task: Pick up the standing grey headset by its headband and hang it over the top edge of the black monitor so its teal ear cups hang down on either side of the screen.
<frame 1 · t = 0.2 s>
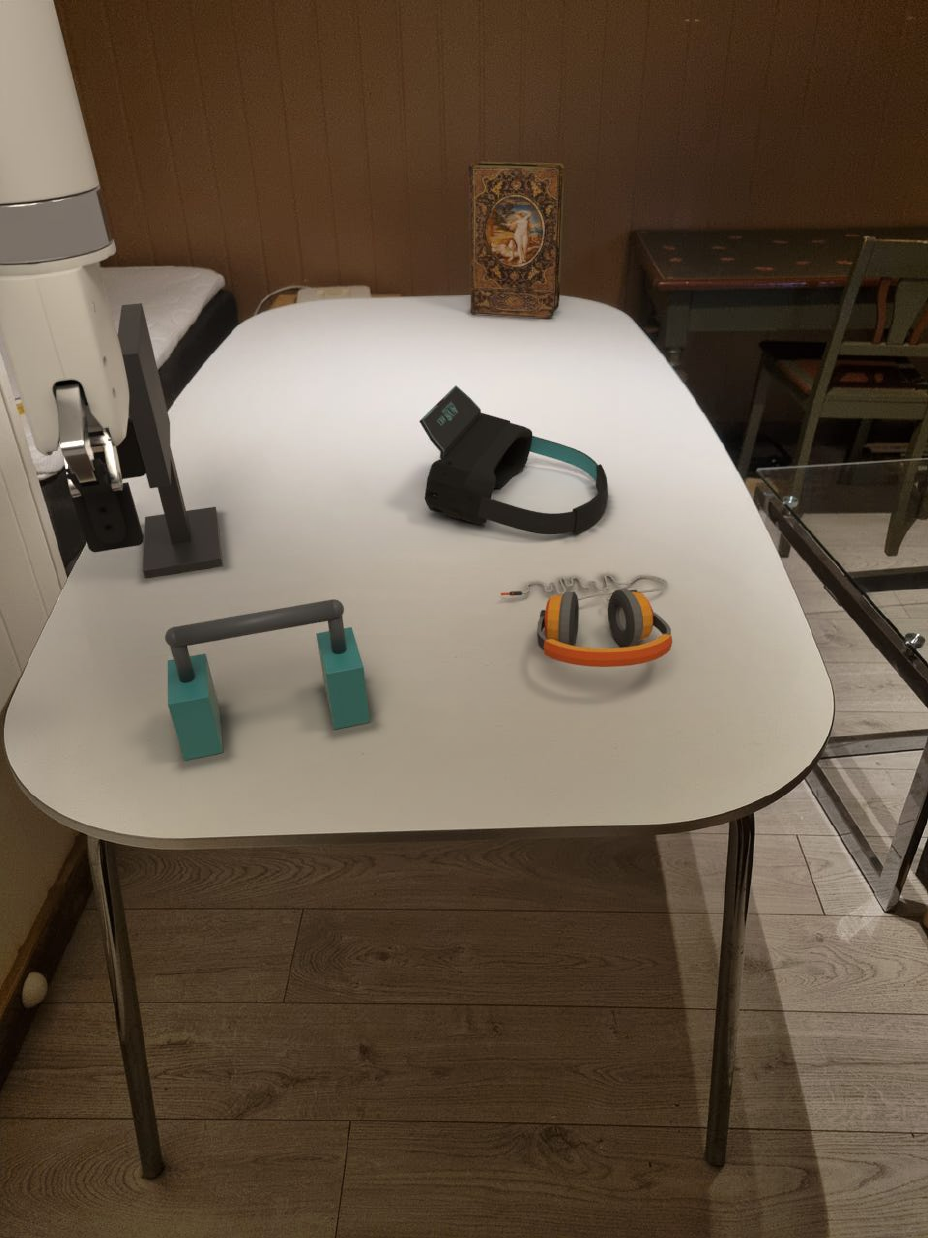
hand: (120, 509, 56), 22 cm above the table, tool pointing down, fingers open, 9 cm apart
virtual reality headset: (520, 501, 102), on the table
monitor: (183, 544, 95), on the table
headphones: (593, 635, 81), on the table
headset: (276, 718, 72), on the table
book: (513, 313, 162), on the table
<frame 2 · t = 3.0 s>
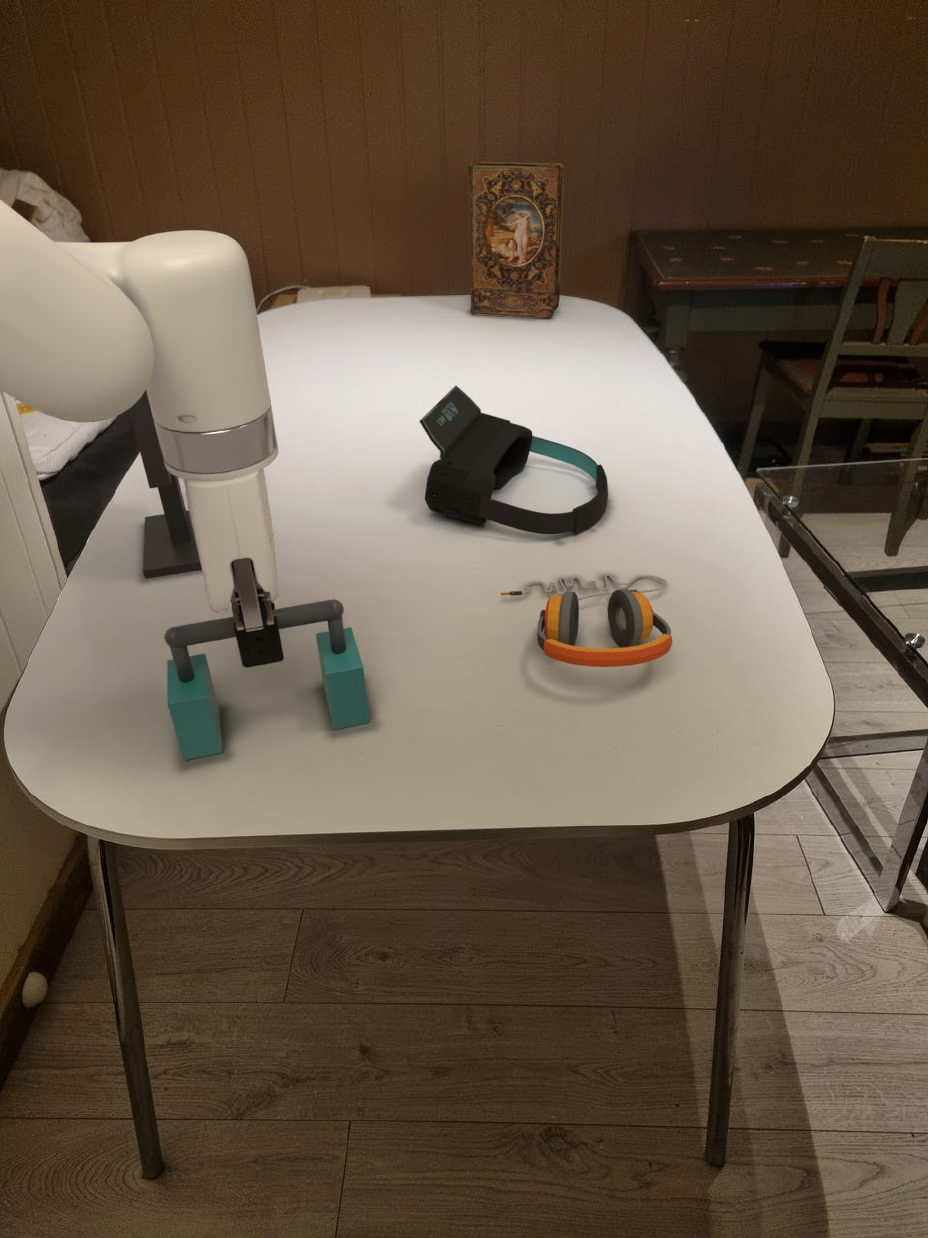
hand: (262, 652, 68), 7 cm above the table, tool pointing down, fingers closed on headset
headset: (275, 719, 72), on the table, touching gripper
everything else where it was.
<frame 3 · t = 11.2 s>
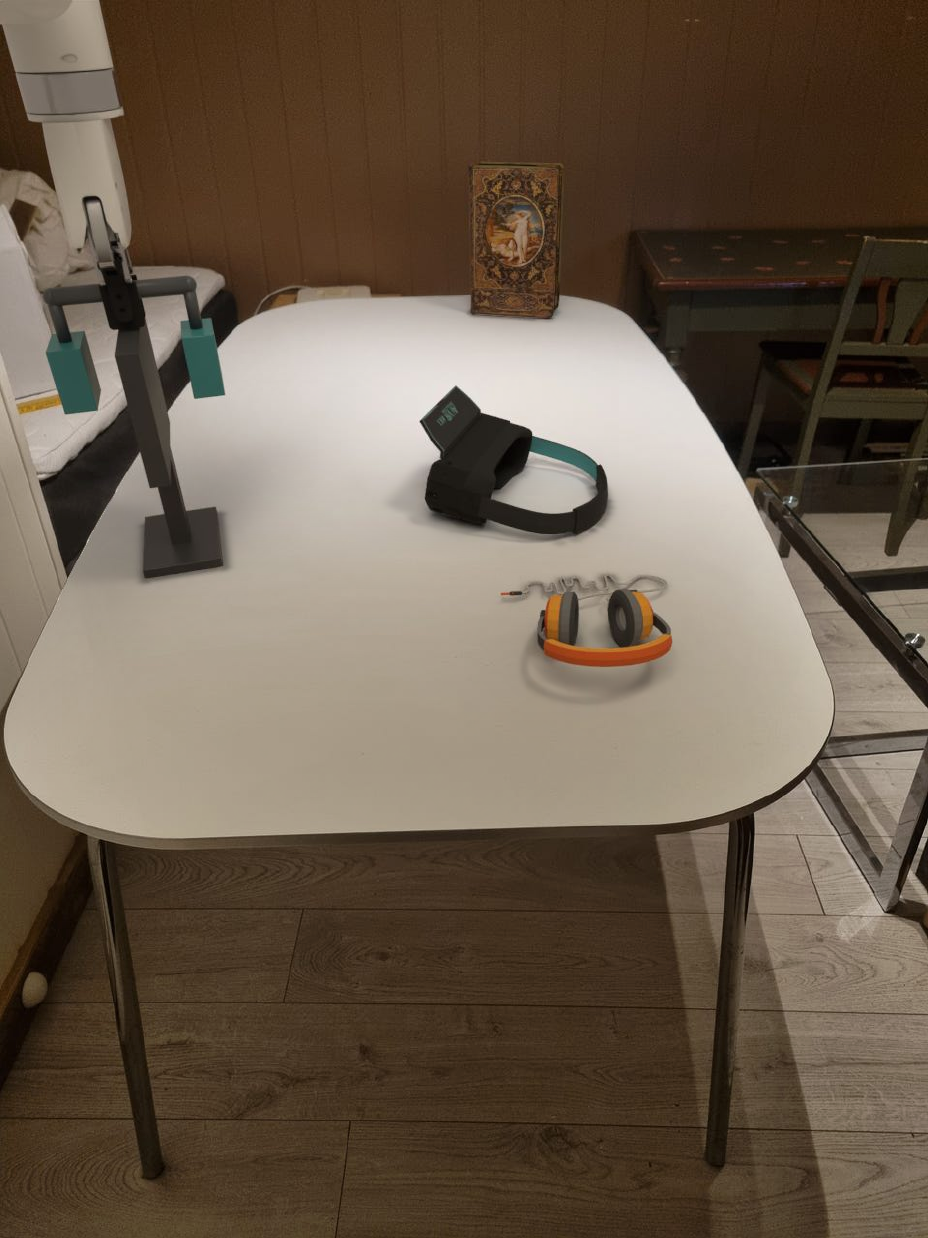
hand: (128, 322, 81), 24 cm above the table, tool pointing down, fingers closed on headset
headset: (147, 394, 85), point 17 cm above the table, touching gripper
everything else where it was.
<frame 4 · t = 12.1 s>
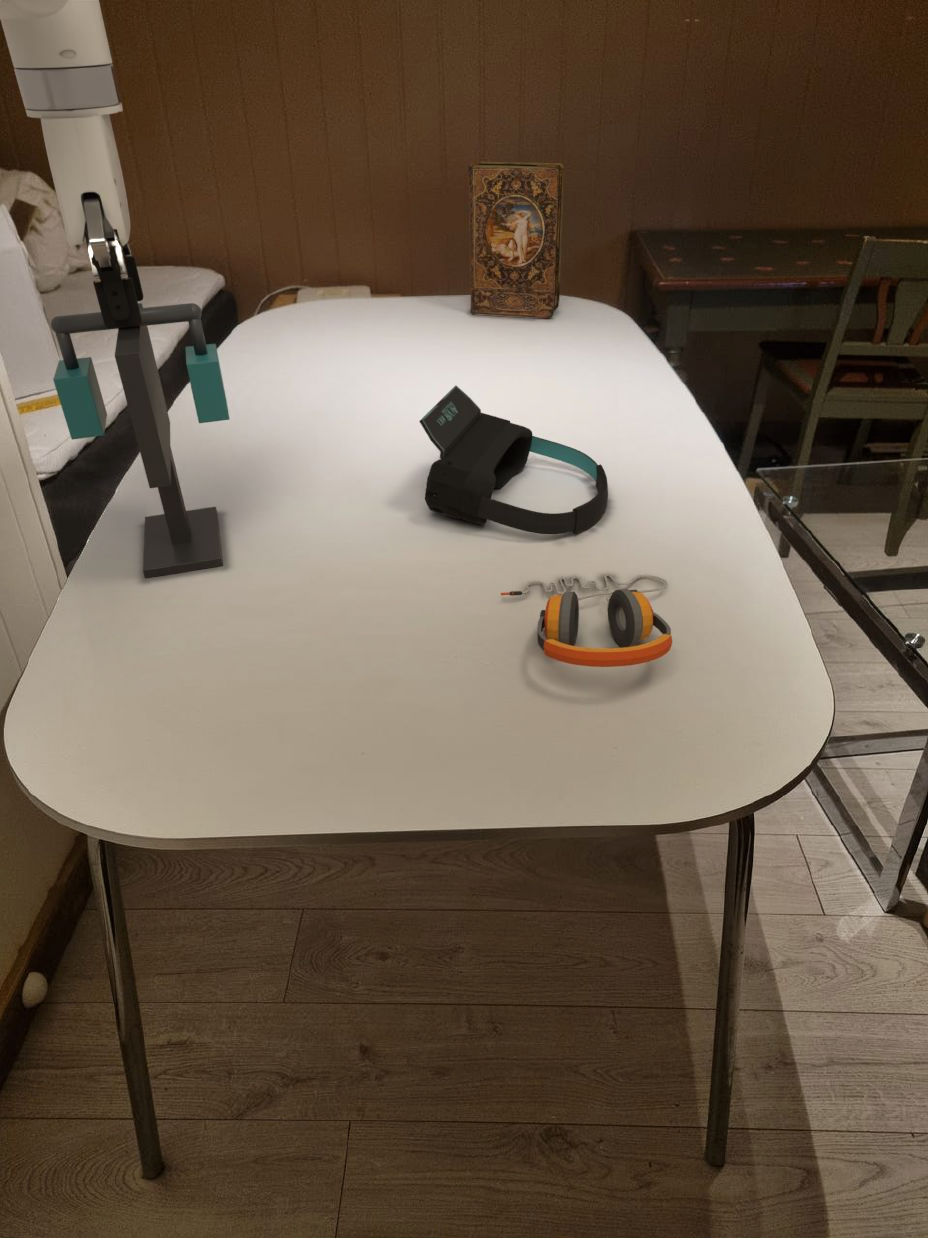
hand: (125, 311, 80), 25 cm above the table, tool pointing down, fingers open, 7 cm apart
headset: (152, 419, 86), point 15 cm above the table, touching monitor
everything else where it was.
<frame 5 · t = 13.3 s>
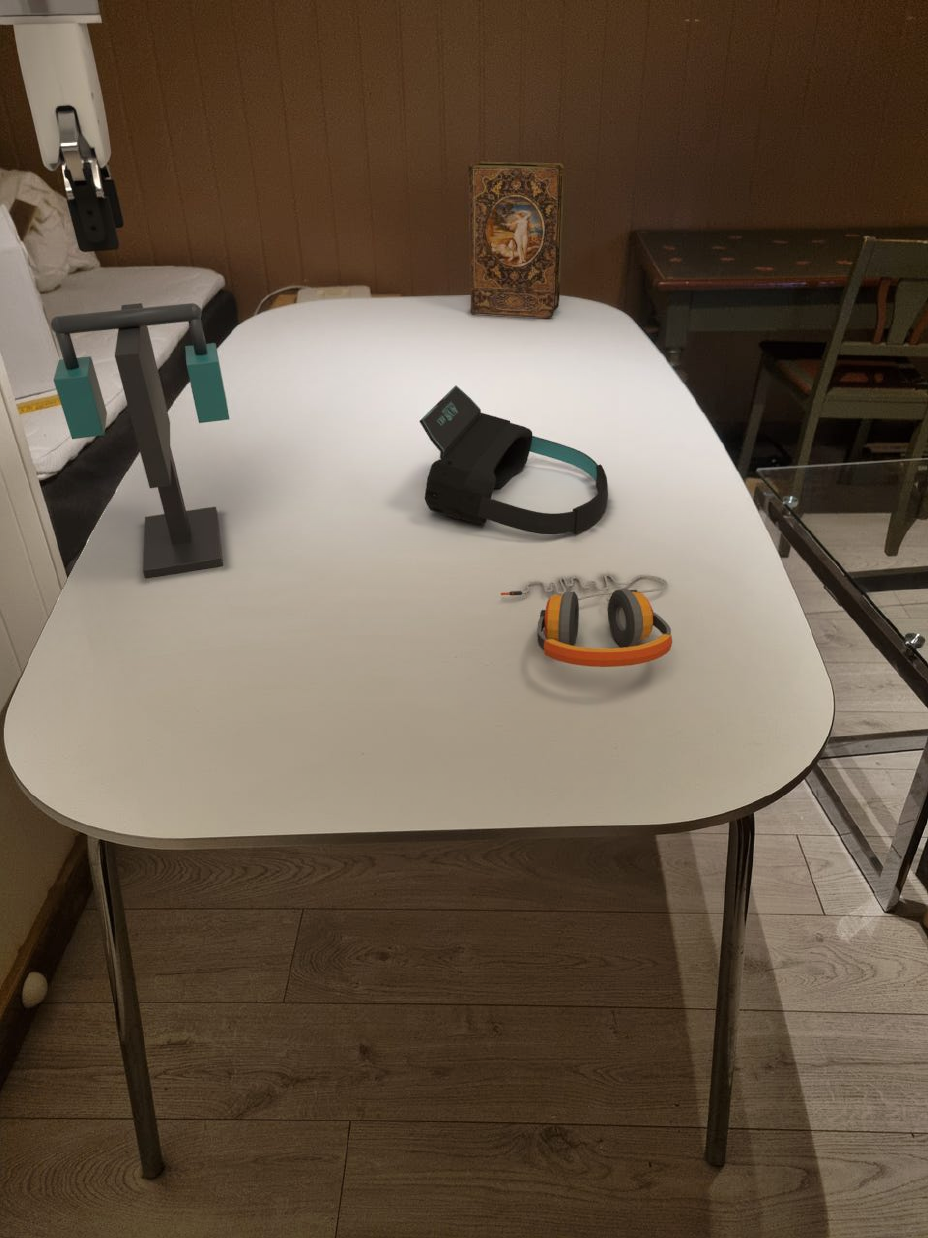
hand: (103, 238, 76), 32 cm above the table, tool pointing down, fingers open, 9 cm apart
nothing on the table moved.
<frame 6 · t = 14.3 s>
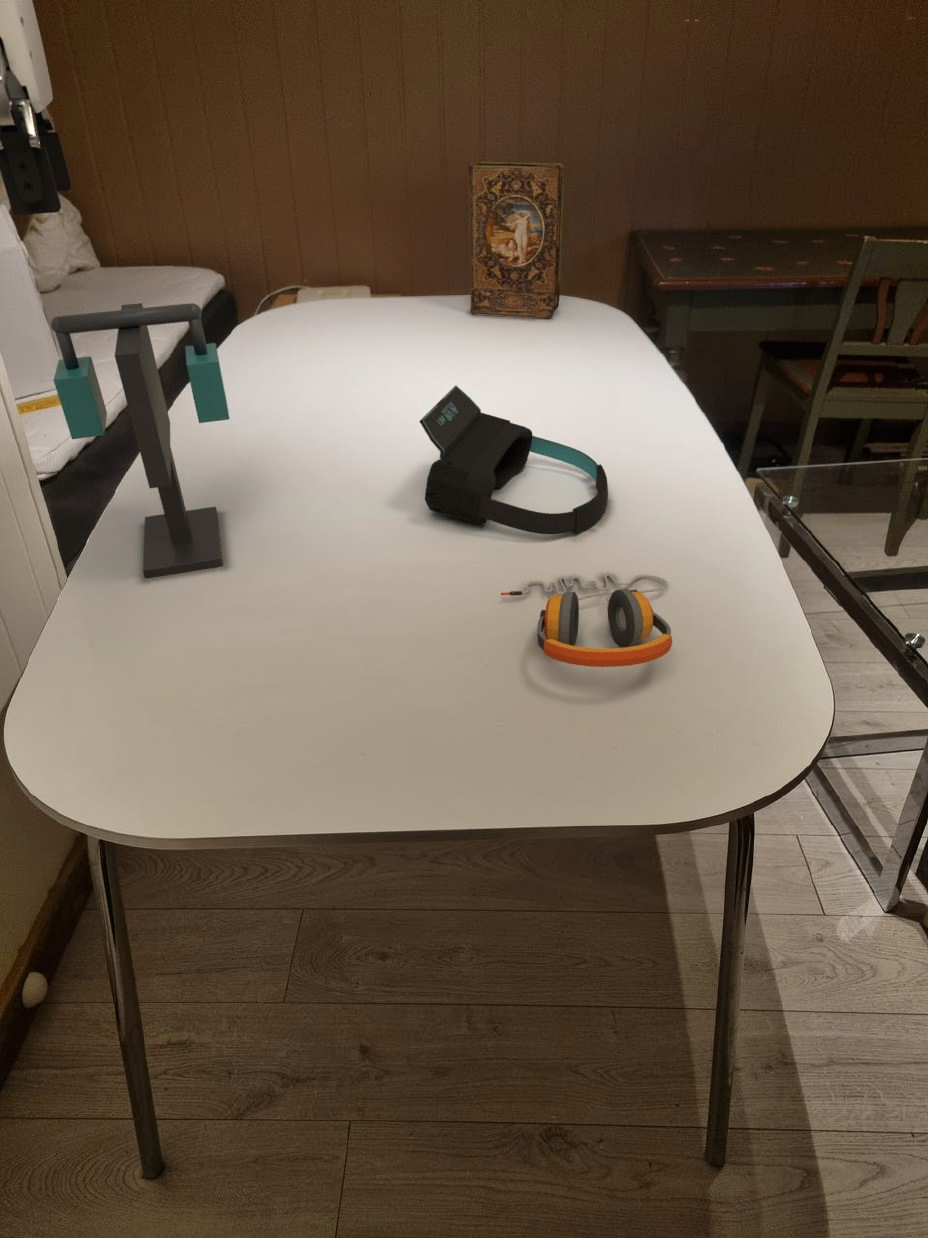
hand: (44, 200, 64), 37 cm above the table, tool pointing down, fingers open, 9 cm apart
nothing on the table moved.
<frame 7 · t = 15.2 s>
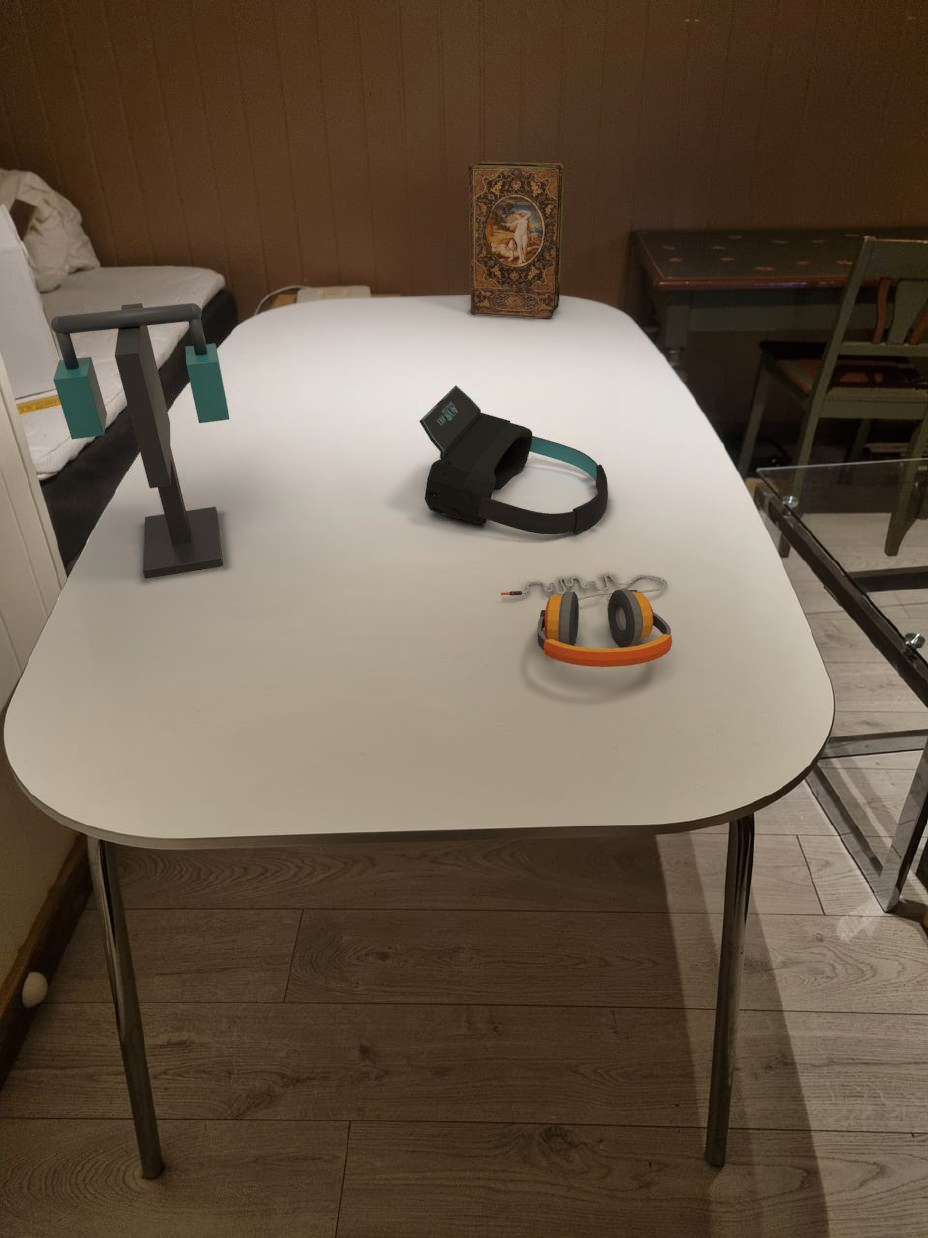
nothing on the table moved.
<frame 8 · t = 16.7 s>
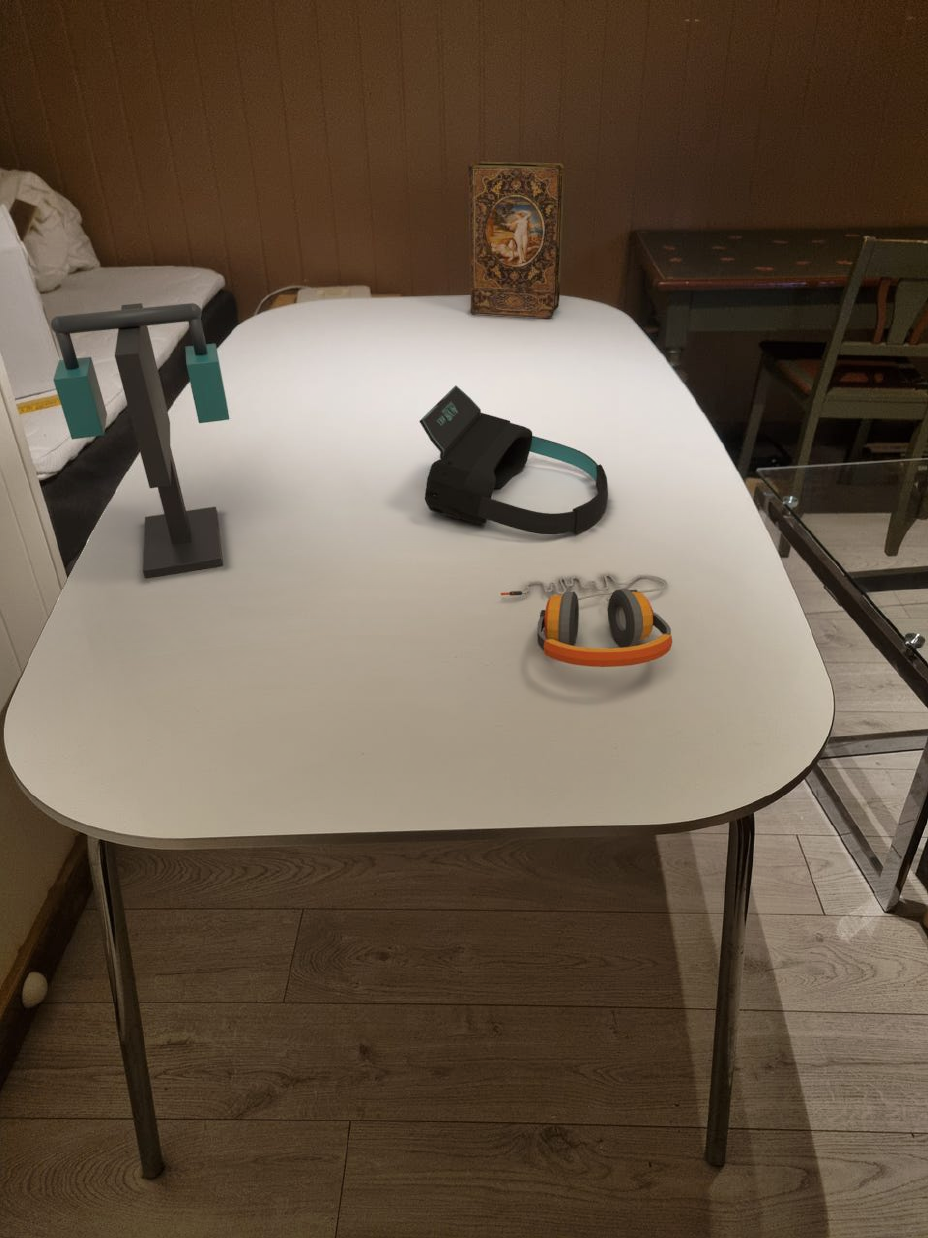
nothing on the table moved.
at the end: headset inside the target area on the monitor (0.0 cm from its centre), point 14.8 cm above the monitor's base; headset touching monitor; the gripper is holding nothing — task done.
